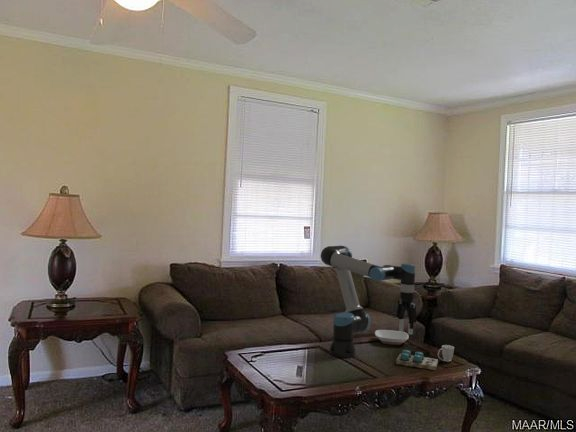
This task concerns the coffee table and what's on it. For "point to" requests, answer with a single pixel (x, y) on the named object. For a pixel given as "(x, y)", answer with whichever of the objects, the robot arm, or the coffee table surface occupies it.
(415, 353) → the button
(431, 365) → the board
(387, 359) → the coffee table surface
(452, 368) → the coffee table surface
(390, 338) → the bowl
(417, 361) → the button
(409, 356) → the button
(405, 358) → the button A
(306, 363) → the coffee table surface
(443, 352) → the cup
